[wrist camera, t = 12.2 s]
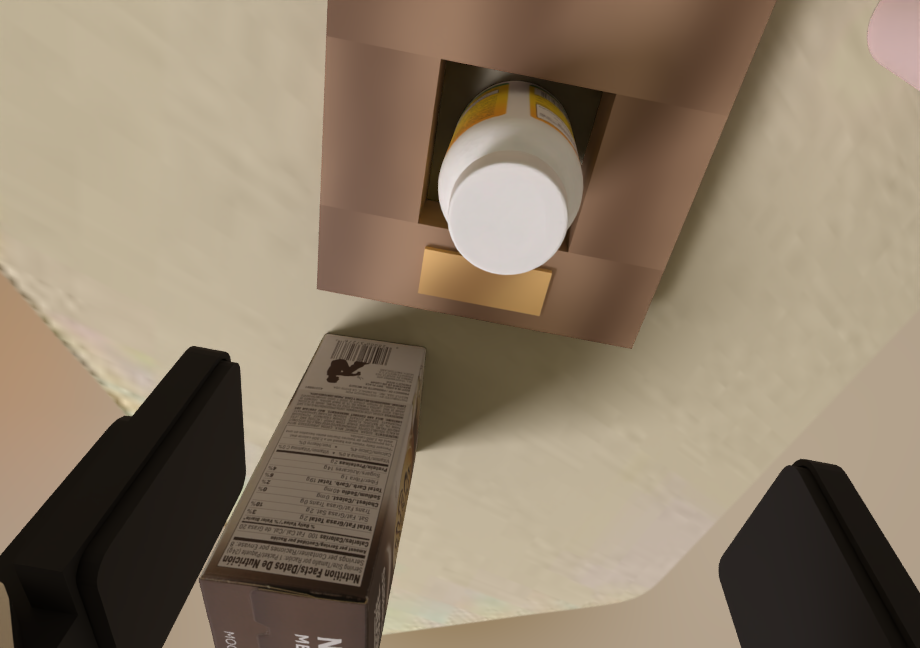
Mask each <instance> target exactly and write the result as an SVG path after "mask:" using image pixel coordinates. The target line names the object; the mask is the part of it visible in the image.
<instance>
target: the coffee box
mask: <svg viewBox="0 0 920 648" xmlns="http://www.w3.org/2000/svg"><path fill="white" fill-rule="evenodd" d="M425 354H426V349H425V348H423V347H418V346H411V345H404V344H397V343H390V342H383V341H376V340H369V339H362V338H354V337H348V336H340V335H333V334H326V335H324V337H323V338H322V340H321V342H320V344H319V346H318V348H317V350H316V352H315V354H314V356H313V358H312V360H311V362H310V364H309V366H308V368H307V370H306V372H305V374H304V376H303V377H302V379H301V382H300V383H299V385H298V387H297V389H296V391H295V393H294V395H293V397H292V399H291V401H290V403H289V405H288V407H287V409H286V410H285V412H284V414H283V416H282V418H281V420H280V422H279V424H278V426H277V428H276V430H275V432H274V433H273V435H272V437H271V439H270V441H269V443H268V445H267V447H266V449H265V451H264V453H263V455H262V457H261V459H260V461H259V463H258V465H257V466H256V468H255V470H254V472H253V474H252V476H251V478H250V480H249V482H248V484H247V486H246V488H245V490H244V492H243V494H242V496H241V498H240V500H239V502H238V504H237V506H236V508H235V510H234V512H233V514H232V516H231V517H230V519H229V521H228V523H227V525H226V527H225V529H224V531H223V533H222V535H221V537H220V539H219V541H218V543H217V545H216V547H215V549H214V551H213V553H212V555H211V557H210V559H209V561H208V563H207V565H206V567H205V568H204V571H203V572H202V574H201V576H200V578H199V583H200V588H201V591H202V595H203V600H204V604H205V607H206V612H207V616H208V620H209V623H210V627H211V631H212V635H213V640H214V644H215V648H379V646H380V641H381V636H382V631H383V626H384V620H385V615H386V610H387V605H388V599H389V594H390V589H391V584H392V579H393V574H394V569H395V564H396V558H397V552H398V547H399V541H400V536H401V531H402V526H403V521H404V516H405V511H406V505H407V500H408V495H409V489H410V484H411V478H412V473H413V467H414V462H415V456H416V450H417V442H418V430H419V419H420V408H421V397H422V387H423V375H424V365H425Z"/></svg>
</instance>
